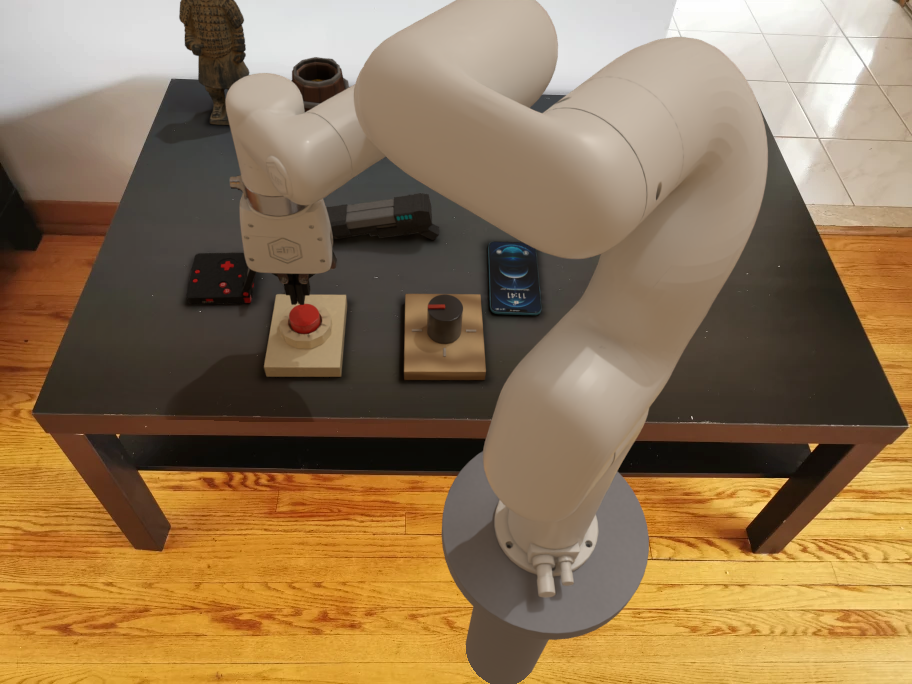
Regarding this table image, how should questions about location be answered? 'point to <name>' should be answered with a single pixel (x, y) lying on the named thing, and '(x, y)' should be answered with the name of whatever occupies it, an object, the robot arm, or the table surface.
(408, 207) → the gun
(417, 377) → the dial panel
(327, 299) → the block
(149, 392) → the table surface
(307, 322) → the press button
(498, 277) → the smartphone
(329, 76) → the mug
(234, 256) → the handheld gaming console
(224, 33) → the statue
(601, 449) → the robot arm
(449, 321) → the dial
